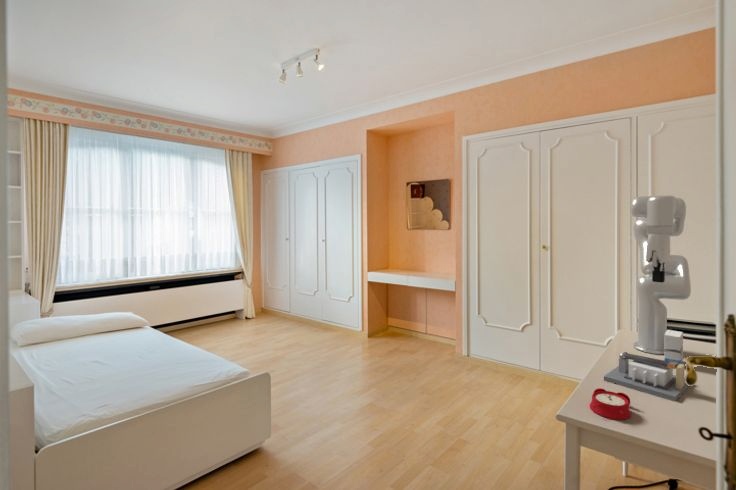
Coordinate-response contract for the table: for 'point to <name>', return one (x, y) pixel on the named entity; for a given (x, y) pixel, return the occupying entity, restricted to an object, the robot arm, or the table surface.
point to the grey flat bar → (649, 360)
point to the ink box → (673, 346)
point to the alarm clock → (610, 404)
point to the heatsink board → (644, 387)
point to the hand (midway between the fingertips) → (658, 281)
